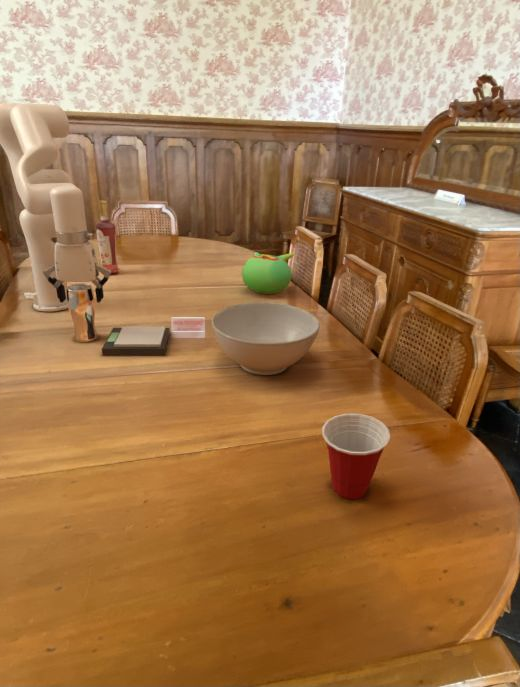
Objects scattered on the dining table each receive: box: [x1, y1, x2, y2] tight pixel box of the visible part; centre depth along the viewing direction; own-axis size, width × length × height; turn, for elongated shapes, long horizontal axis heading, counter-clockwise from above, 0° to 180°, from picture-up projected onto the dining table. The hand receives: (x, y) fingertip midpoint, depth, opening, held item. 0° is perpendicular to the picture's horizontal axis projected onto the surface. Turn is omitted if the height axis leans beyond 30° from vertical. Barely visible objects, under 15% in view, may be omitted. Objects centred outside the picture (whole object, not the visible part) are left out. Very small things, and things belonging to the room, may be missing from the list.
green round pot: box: [241, 252, 295, 295], centre depth 170 cm, size 18×17×15 cm
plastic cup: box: [321, 412, 391, 500], centre depth 78 cm, size 11×11×12 cm
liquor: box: [95, 200, 120, 276], centre depth 183 cm, size 7×7×28 cm
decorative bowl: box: [210, 301, 321, 376], centre depth 119 cm, size 27×27×12 cm
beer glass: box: [66, 282, 99, 343], centre depth 129 cm, size 7×7×15 cm
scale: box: [101, 325, 171, 356], centre depth 129 cm, size 16×14×3 cm
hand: (81, 300), depth 127 cm, fingers open, 9 cm apart
